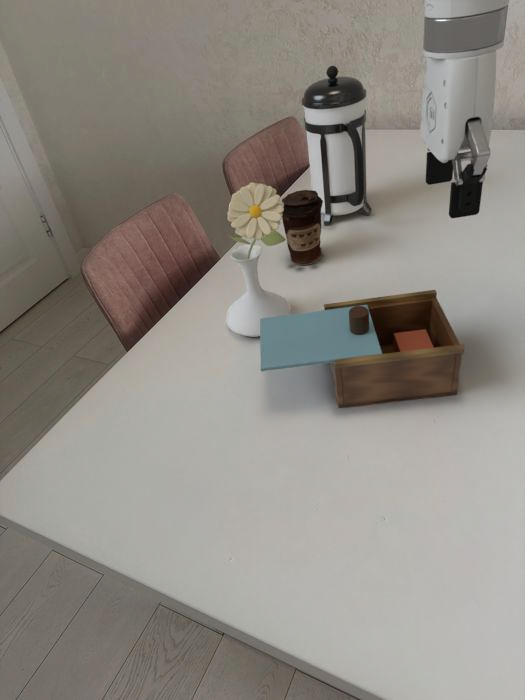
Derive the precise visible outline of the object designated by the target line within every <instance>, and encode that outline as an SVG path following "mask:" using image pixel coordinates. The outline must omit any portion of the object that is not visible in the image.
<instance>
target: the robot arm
mask: <svg viewBox="0 0 525 700" xmlns="http://www.w3.org/2000/svg"><path fill="white" fill-rule="evenodd" d="M509 4H510V0H424V17H423V19H424V20H423V43H422V45H423V46H422V50H423V51H422V55H423V56H424V58H426V62H425V69H424V76H423V77H424V78H423V90H422V101H421V112H420V113H421V115H420V127H419V130H420V131H419V135H420V139H421V141H422V142H423V144H424V145H425V146H426V149H427V152H426V160H425V161H426V163H425V183H426V185H428V186H431V185H436V184H437V185H438V184H443V183H450V192H449V205H448V216H449V217H450V219H457V218H463V217H464V218H465V217H470V216H471V217H472V216H476V215H479V213H480V210H481V201H482V193H483V185H484V182H485V178H486V173H487V171H488V168H487V167H488V162H489V160H490V158H491V149H490V141H491V136H492V128H493V121H494V120H493V119H494V108H495V96H496V76H497V51H498V50H500V49H501V48H503V46H504V45H505V44H504V43H505V35H506V28H507V27H506V26H507V19H508V12H509V11H508V10H509ZM466 150H467V151H466ZM468 150H469V151H468ZM461 151H464V152H461ZM468 161H470V163H467V164H466V166H465V167H464V168H463V166H462V162H463V163H464V162H468ZM453 176H454V177H453ZM453 178H454V182H451V181H452V180H453Z"/></svg>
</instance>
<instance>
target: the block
mask: <svg viewBox="0 0 525 700" xmlns="http://www.w3.org/2000/svg"><path fill="white" fill-rule="evenodd" d="M427 348H434V347H433V345H432V342H431V340H430V338H429V335H428V333H427V331H426V329H423V330H415V331H407V332H399V333H394V349H393V353H395V352H403V351H411V350H419V349H427Z"/></svg>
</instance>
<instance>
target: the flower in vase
mask: <svg viewBox="0 0 525 700" xmlns="http://www.w3.org/2000/svg"><path fill="white" fill-rule="evenodd" d="M283 207H284V203H283V202H282V200H281V196H280V195H279V194H277V188H273V187H272V186H271V185H266V184H263V183H257V182H254V181H253V182H252V181H251V182H249V184H247V185H245V186H242V187H240V189H239V190H237V191H236V192H233V193H232V194H231V199H230V202H229V204H228V211H227V213H226V215H227V221H228V222H229V223H231V224H230V226H231V228H233V229H234V233H235V234H236V235H238V236H239V237H235V236H231V235H229V234H226V236H227V237H228V238H230V239H231V240H232V241H235V242H237V243H240V244H241V243H242V244H244V245H240V246H237V247H236V248H234V249H233V250H232V251H231V252H230V258H231V259H232V260H234V261H235V262H236V264H237V265H238V266H239V268H240V270H241V272H242V275H243V279H244V282H245V292H244V293H243V294H242V295H240V297H238V298H237V299H235V301H233V303H232V304H231V305H230V306H229V308H228V309H227V311H226V316H225V324H226V325H227V327H228V328H229V329H230V330H231V331H233V332H234V333H236V334H238V335H239V336H244V337H252V338H253V337H260V319H261V318H269V317H277V316H284V315H292V307H291V305H290V304H289V301H288V300H287V299H286V298H285V297H284V296H281V295H279V294H277V293H275V292H272V291H269V290H265V289H263V288H262V286H261V284H260V281H259V280H260V279H259V272H258V265H259V259H260V256H261V255H262V253H263V248H262V247H261V246H260V245H258V244H256V241H261V242H262V243H263V244H264V245H266V246H267V247H272V246H276V245H279V244H281V243H283V242H285V241H287V238H286V237H285V236H283V235H282V234H281V233H279V232H278V231H277V230H278V229H279V228H280V225H281V221H282V216H283V214H282V212H283V211H284V208H283ZM243 237H244V238H246V239H249V240H250V239H253V241H252V242H249V241H247V240H246V239H244V238H243Z"/></svg>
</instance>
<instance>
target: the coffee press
mask: <svg viewBox="0 0 525 700" xmlns="http://www.w3.org/2000/svg"><path fill="white" fill-rule="evenodd" d="M325 74H326V76H327V78H323V79H320V80H317V81H315V82H313V83H312V84H310V85H309V86H308V87H307V88H306V90H305V91H304V94H303V97H302V98H301V105H302V107H303V108H304V109H303V110H304V121H303V122H304V129H305V131H306V142H307V149H308V150H307V153H308V163H309V174H310V175H309V176H310V185H311V190H313V191H316V192H317V193H318V196H319V197H320V198H321V199H322V201H323V203H322V208H321V214H323V215H324V218H323V225H325V226H332V223H333V220H334V217H335V216H343V215H348V214H349V215H350V214H352V213H355V212H357V211H360V212H361V213H362V214H364V216H369V215H370V214H371V213H372V212H373V208H372V207H371V206H370V204H369V202H368V199H367V198H368V197H367V196H368V195H367V153H366V152H367V149H366V148H367V147H366V121H367V110H366V107H365V105H366V104H365V103H366V102H365V101H366V99H367V98H366V97H367V89H366V88H364V85H363V83H362V82H361V81H360V80H359V79H358V78H355V77H352V76H351V77H350V76H338V74H339V70H338V67H337V66H336V65H330V66H329V67H327V69H326V72H325ZM364 206H365V208H366V209H367V210H368V211H367V210H366V209H365V208H364Z"/></svg>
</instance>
